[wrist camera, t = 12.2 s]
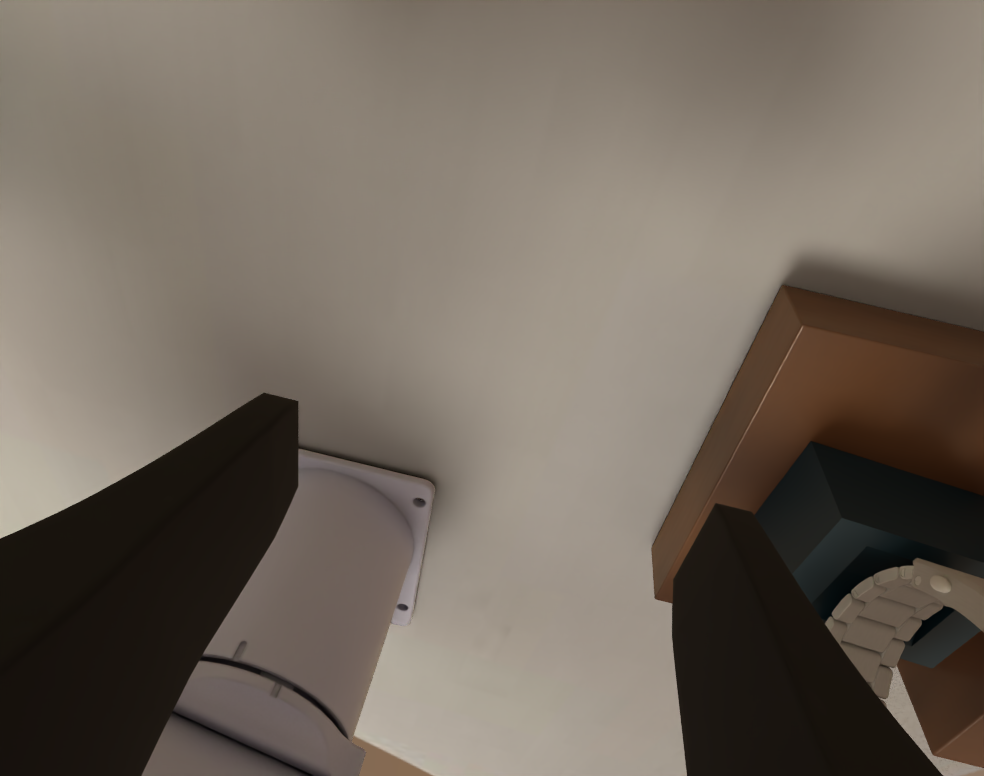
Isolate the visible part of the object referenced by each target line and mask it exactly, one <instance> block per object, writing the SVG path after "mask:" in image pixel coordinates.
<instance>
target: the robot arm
mask: <svg viewBox="0 0 984 776" xmlns="http://www.w3.org/2000/svg"><path fill="white" fill-rule="evenodd" d="M434 494H435V487H434V486H433V484H432V483H431V482H430V481H428V480H425V479H422V478H418V477H414V476H409V475H405V474H401V473H397V472H393V471H389V470H385V469H381V468H377V467H373V466H369V465H364V464H360V463H356V462H352V461H348V460H344V459H340V458H336V457H332V456H328V455H323V454H319V453H315V452H311V451H307V450H303V449H299V448H298V401H296V400H292V399H288V398H284V397H280V396H276V395H272V394H267V393H263V394H261V395H259V396H258V397H256V398H254V399H253V400H251V401H249V402H248V403H246V404H244V405H243V406H241V407H240V408H238V409H237V410H235V411H233V412H232V413H230V414H229V415H227V416H226V417H224V418H223V419H221V420H219V421H218V422H216V423H215V424H213V425H212V426H210V427H208V428H207V429H205V430H204V431H202V432H200V433H199V434H197V435H196V436H194V437H193V438H191V439H189V440H188V441H186V442H184V443H183V444H181V445H179V446H178V447H176V448H174V449H173V450H171V451H170V452H168V453H166V454H165V455H163V456H161V457H160V458H158V459H156V460H155V461H153V462H151V463H150V464H148V465H146V466H145V467H143V468H141V469H139V470H137V471H136V472H134V473H132V474H130V475H128V476H127V477H125V478H123V479H121V480H119V481H118V482H116V483H114V484H112V485H110V486H108V487H107V488H105V489H103V490H101V491H99V492H98V493H96V494H94V495H92V496H90V497H88V498H86V499H84V500H82V501H80V502H78V503H76V504H74V505H72V506H70V507H68V508H66V509H64V510H62V511H60V512H58V513H56V514H54V515H52V516H50V517H47V518H45V519H43V520H41V521H39V522H36V523H34V524H32V525H30V526H28V527H26V528H23V529H21V530H19V531H17V532H15V533H12V534H10V535H8V536H5V537H3V538H1V539H0V776H359V773H360V770H361V767H362V764H363V760H364V757H365V754H366V752H365V750H364V749H363V748H361V747H359V746H357V745H355V744H353V743H352V742H351V741H352V738H353V735H354V732H355V729H356V726H357V723H358V720H359V717H360V714H361V711H362V708H363V705H364V702H365V699H366V696H367V693H368V690H369V687H370V684H371V681H372V678H373V675H374V672H375V669H376V666H377V663H378V660H379V657H380V654H381V651H382V647H383V644H384V641H385V638H386V635H387V632H388V629H389V626H390V623H392V624H396V625H400V626H406V625H408V624H410V622H411V620H412V617H413V611H414V606H415V600H416V594H417V589H418V583H419V578H420V572H421V566H422V561H423V555H424V550H425V544H426V538H427V533H428V527H429V522H430V516H431V510H432V505H433V499H434ZM417 498H421V499H423V500H424V501H421V500H419V499H417ZM672 640H673V651H674V660H675V670H676V679H677V689H678V698H679V706H680V715H681V724H682V733H683V742H684V751H685V760H686V769H687V776H943V775H942V774H941V773H940V772H939V771H938V769H937V768H936V767H935V766H934V765H933V763H932V762H931V761H930V760H929V759H928V758H927V756H926V755H925V754H924V753H923V752H922V750H921V749H920V748H919V747H918V746H917V744H916V743H915V742H914V741H913V740H912V738H911V737H910V736H909V735H908V734H907V733H906V731H905V730H904V729H903V728H902V727H901V725H900V724H899V723H898V722H897V720H896V719H895V718H894V717H893V715H892V714H891V713H890V712H889V710H888V709H887V708H886V707H885V705H884V704H883V703H882V702H881V700H880V699H879V698H878V696H877V695H876V694H875V692H874V691H873V690H872V688H871V687H870V686H869V684H868V683H867V682H866V680H865V679H864V678H863V676H862V675H861V674H860V672H859V671H858V670H857V668H856V667H855V666H854V664H853V663H852V662H851V660H850V659H849V657H848V656H847V655H846V653H845V652H844V650H843V649H842V648H841V646H840V645H839V643H838V642H837V641H836V639H835V638H834V636H833V635H832V633H831V632H830V631H829V629H828V628H827V626H826V625H825V623H824V622H823V620H822V619H821V617H820V616H819V614H818V613H817V611H816V610H815V608H814V607H813V605H812V604H811V603H810V601H809V599H808V598H807V596H806V595H805V593H804V592H803V590H802V589H801V587H800V586H799V584H798V583H797V581H796V580H795V578H794V576H793V575H792V573H791V572H790V570H789V569H788V567H787V566H786V564H785V562H784V561H783V559H782V558H781V556H780V555H779V553H778V551H777V550H776V548H775V547H774V545H773V544H772V542H771V540H770V539H769V537H768V536H767V534H766V533H765V531H764V529H763V528H762V526H761V525H760V523H759V522H758V520H757V519H756V517H755V516H754V514H753V513H752V512H751V511H747V510H743V509H739V508H735V507H730V506H726V505H722V504H718V503H715V505H714V507H713V509H712V510H711V512H710V514H709V516H708V518H707V519H706V521H705V523H704V525H703V527H702V528H701V530H700V532H699V534H698V536H697V537H696V539H695V541H694V543H693V545H692V546H691V548H690V550H689V552H688V554H687V555H686V557H685V559H684V561H683V563H682V564H681V566H680V568H679V570H678V572H677V573H676V575H675V577H674V579H673V605H672Z"/></svg>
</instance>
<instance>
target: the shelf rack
mask: <svg viewBox="0 0 984 776" xmlns="http://www.w3.org/2000/svg"><path fill="white" fill-rule="evenodd" d="M810 441H813V442H816V443H819V444H822V445H825V446H828V447H831V448H835V449H838V450H841V451H844V452H847V453H850V454H853V455H857V456H860V457H863V458H866V459H869V460H872V461H875V462H879V463H882V464H885V465H888V466H891V467H894V468H897V469H900V470H904V471H907V472H910V473H913V474H916V475H919V476H922V477H926V478H929V479H932V480H935V481H938V482H941V483H944V484H947V485H951V486H954V487H957V488H960V489H963V490H966V491H969V492H973V493H976V494H979V495H982V496H984V332H982V331H978V330H974V329H970V328H965V327H961V326H957V325H952V324H948V323H944V322H940V321H935V320H931V319H927V318H922V317H918V316H914V315H910V314H905V313H901V312H897V311H893V310H888V309H884V308H880V307H875V306H871V305H867V304H863V303H858V302H854V301H850V300H845V299H841V298H837V297H833V296H828V295H824V294H820V293H816V292H811V291H807V290H803V289H798V288H794V287H790V286H786V285H782V286H781V288H780V290H779V292H778V294H777V296H776V298H775V300H774V302H773V304H772V306H771V308H770V310H769V312H768V314H767V316H766V318H765V320H764V322H763V324H762V326H761V328H760V330H759V332H758V334H757V337H756V339H755V341H754V343H753V345H752V347H751V349H750V351H749V353H748V355H747V357H746V359H745V361H744V363H743V365H742V367H741V369H740V371H739V373H738V375H737V377H736V379H735V381H734V383H733V385H732V387H731V389H730V391H729V393H728V395H727V397H726V399H725V401H724V403H723V405H722V407H721V409H720V411H719V413H718V415H717V417H716V419H715V421H714V423H713V425H712V427H711V429H710V431H709V433H708V435H707V437H706V439H705V441H704V443H703V445H702V447H701V450H700V452H699V454H698V456H697V458H696V460H695V462H694V464H693V466H692V468H691V470H690V472H689V474H688V476H687V478H686V480H685V482H684V484H683V486H682V488H681V490H680V492H679V494H678V496H677V498H676V500H675V502H674V504H673V506H672V508H671V510H670V512H669V514H668V516H667V518H666V520H665V522H664V524H663V526H662V528H661V530H660V532H659V534H658V536H657V538H656V540H655V542H654V544H653V546H652V548H651V549H652V564H653V580H654V595H655V599H657V600H661V601H665V602H669V603H673V579H674V577H675V575H676V573H677V572H678V570H679V568H680V566H681V564H682V563H683V561H684V559H685V557H686V555H687V554H688V552H689V550H690V548H691V546H692V545H693V543H694V541H695V539H696V537H697V536H698V534H699V532H700V530H701V528H702V527H703V525H704V523H705V521H706V519H707V518H708V516H709V514H710V512H711V510H712V509H713V507H714V505H715V503H718V504H722V505H726V506H730V507H735V508H739V509H743V510H747V511H751V512H752V513H753V514H754V515H755V514H756V512H757V511H758V510H759V508H760V507H761V506H762V504H763V503H764V502H765V500H766V499H767V498H768V497H769V495H770V494H771V493H772V491H773V490H774V489H775V487H776V486H777V485H778V483H779V482H780V481H781V480H782V478H783V477H784V476H785V474H786V473H787V472H788V470H789V469H790V468H791V466H792V465H793V464H794V462H795V461H796V460H797V459H798V457H799V456H800V455H801V453H802V452H803V451H804V449H805V448H806V447H807V445H808V444H809V443H810ZM897 667H898V670H899V672H900V675H901V677H902V680H903V682H904V685H905V687H906V690H907V692H908V695H909V697H910V700H911V702H912V705H913V707H914V710H915V712H916V715H917V717H918V720H919V722H920V725H921V727H922V730H923V732H924V735H925V737H926V740H927V742H928V745H929V747H930V750H931V752H932V754H933V755H934V756H938V757H942V758H946V759H950V760H954V761H958V762H962V763H966V764H970V765H974V766H978V767H982V768H984V632H983V631H980V632H978V633H977V634H976V635H975V636H973V637H972V638H971V639H969V640H968V641H967V642H966V643H964V644H963V645H962V646H960V647H959V648H958V649H957V650H955V651H954V652H953V653H952V654H950V655H949V656H948V657H946V658H945V659H944V660H943V661H941V662H940V663H939V664H937V665H936V666H935V667H934V668H929V667H926V666H923V665H919V664H916V663H913V662H910V661H906V660H903V659H900V658H899V660H898V663H897Z"/></svg>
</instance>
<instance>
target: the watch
mask: <svg viewBox="0 0 984 776" xmlns="http://www.w3.org/2000/svg"><path fill="white" fill-rule="evenodd" d="M754 516H755V517H756V519H757V520H758V522H759V523H760V525H761V526H762V528H763V529H764V531H765V533H766V534H767V536H768V537H769V539H770V540H771V542H772V544H773V545H774V547H775V548H776V550H777V551H778V553H779V555H780V556H781V558H782V559H783V561H784V562H785V564H786V566H787V567H788V569H789V570H790V572H791V573H792V575H793V576H794V578H795V580H796V581H797V583H798V584H799V586H800V587H801V589H802V590H803V592H804V593H805V595H806V596H807V598H808V599H809V601H810V603H811V604H812V605H813V607H814V608H815V610H816V611H817V613H818V614H819V616H820V617H821V619H822V620H823V622H824V623H825V625H826V626H827V628H828V629H829V631H830V632H831V633H832V635H833V636H834V638H835V639H836V641H837V642H838V643H839V645H840V646H841V648H842V649H843V650H844V652H845V653H846V655H847V656H848V657H849V659H850V660H851V662H852V663H853V664H854V666H855V667H856V668H857V670H858V671H859V672H860V674H861V675H862V676H863V678H864V679H865V680H866V681H867V683H868V684H869V686H870V687H871V688H872V690H873V691H874V692H875V694H876V695H877V696H878V697H879V698H883V699H886V698H887V697H888V695H889V689H890V684H891V680H892V676H893V672H892V670H891V669H890V668H889V667H891V668H895V667H896V665H897V663H898V660H899V658H900V659H903V660H906V661H910V662H913V663H916V664H919V665H923V666H926V667H929V668H934V667H935V666H936V665H937V664H939V663H940V662H941V661H943V660H944V659H945V658H946V657H948V656H949V655H950V654H952V653H953V652H954V651H955V650H957V649H958V648H959V647H960V646H962V645H963V644H964V643H966V642H967V641H968V640H969V639H971V638H972V637H973V636H975V635H976V634H977V633H978V632H980V631H983V632H984V496H982V495H979V494H976V493H973V492H969V491H966V490H963V489H960V488H957V487H954V486H951V485H947V484H944V483H941V482H938V481H935V480H932V479H929V478H926V477H922V476H919V475H916V474H913V473H910V472H907V471H904V470H900V469H897V468H894V467H891V466H888V465H885V464H882V463H879V462H875V461H872V460H869V459H866V458H863V457H860V456H857V455H853V454H850V453H847V452H844V451H841V450H838V449H835V448H831V447H828V446H825V445H822V444H819V443H816V442H813V441H810V443H809V444H808V445H807V447H806V448H805V449H804V451H803V452H802V453H801V455H800V456H799V457H798V459H797V460H796V461H795V462H794V464H793V465H792V466H791V468H790V469H789V470H788V472H787V473H786V474H785V476H784V477H783V478H782V480H781V481H780V482H779V483H778V485H777V486H776V487H775V489H774V490H773V491H772V493H771V494H770V495H769V497H768V498H767V499H766V500H765V502H764V503H763V504H762V506H761V507H760V508H759V510H758V511H757V512H756V514H755V515H754ZM881 664H882V665H881ZM880 700H881V699H880ZM881 702H882V703H883V704H884V705H885V707H886V703H885V702H884V701H883V700H881Z"/></svg>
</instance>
